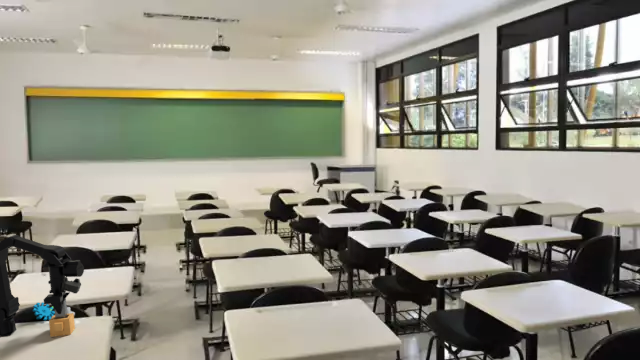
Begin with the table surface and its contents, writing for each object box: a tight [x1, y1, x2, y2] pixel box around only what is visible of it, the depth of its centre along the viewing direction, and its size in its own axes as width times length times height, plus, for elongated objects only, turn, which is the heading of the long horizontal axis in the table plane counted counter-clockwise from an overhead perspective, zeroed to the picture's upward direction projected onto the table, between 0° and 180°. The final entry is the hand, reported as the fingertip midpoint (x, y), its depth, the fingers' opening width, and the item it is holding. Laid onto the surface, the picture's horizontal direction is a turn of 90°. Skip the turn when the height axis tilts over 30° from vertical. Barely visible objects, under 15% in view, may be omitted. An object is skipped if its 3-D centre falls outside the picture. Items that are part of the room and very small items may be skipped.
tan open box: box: [48, 306, 76, 338], centre depth 211 cm, size 8×14×8 cm, turn 11°
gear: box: [32, 301, 55, 321], centre depth 226 cm, size 11×6×10 cm
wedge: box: [54, 298, 68, 319], centre depth 209 cm, size 4×2×8 cm, turn 101°
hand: (60, 312), depth 209 cm, fingers closed on wedge, 2 cm apart
